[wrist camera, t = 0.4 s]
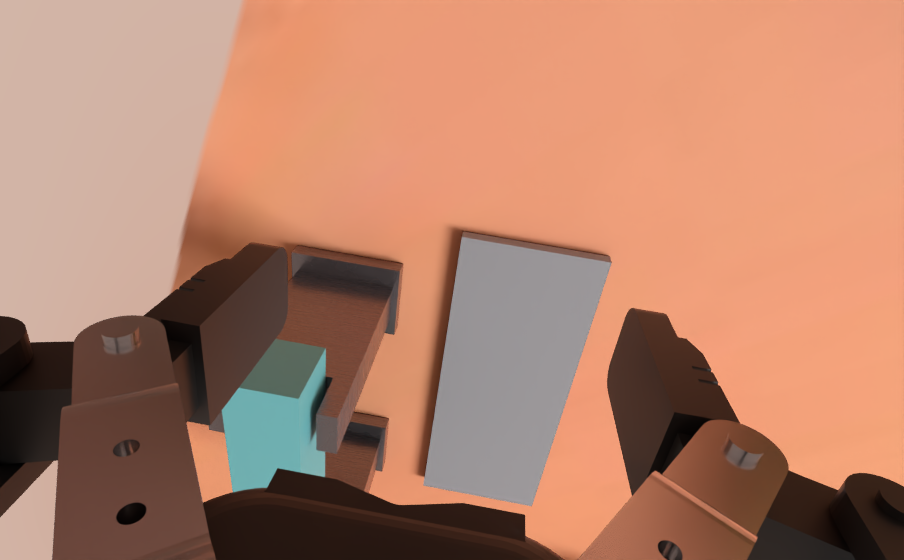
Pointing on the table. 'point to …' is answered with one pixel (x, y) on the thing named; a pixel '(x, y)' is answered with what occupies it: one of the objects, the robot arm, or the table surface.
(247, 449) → the rail bar
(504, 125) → the table surface
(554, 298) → the rubber mat
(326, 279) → the bracket stand
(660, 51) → the table surface
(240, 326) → the robot arm
